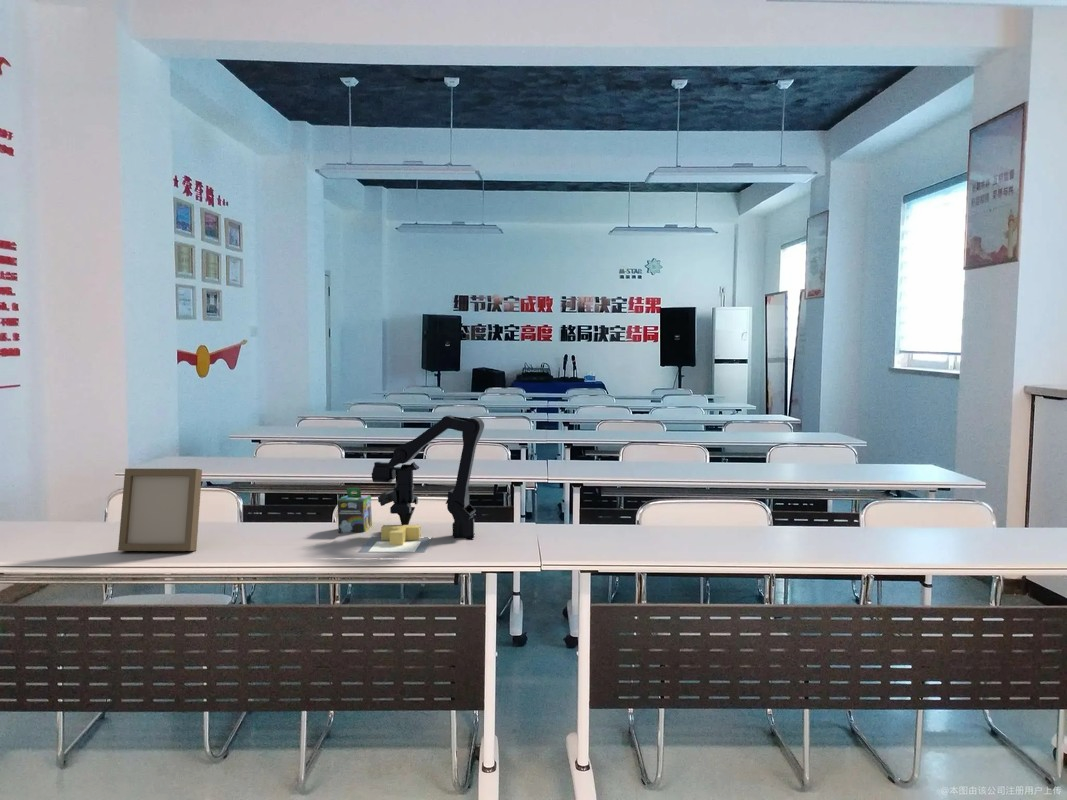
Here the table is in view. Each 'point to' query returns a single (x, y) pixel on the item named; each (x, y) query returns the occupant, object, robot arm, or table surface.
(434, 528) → the table surface
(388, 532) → the T block
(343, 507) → the chalk box
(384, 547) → the mat
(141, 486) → the photo frame
